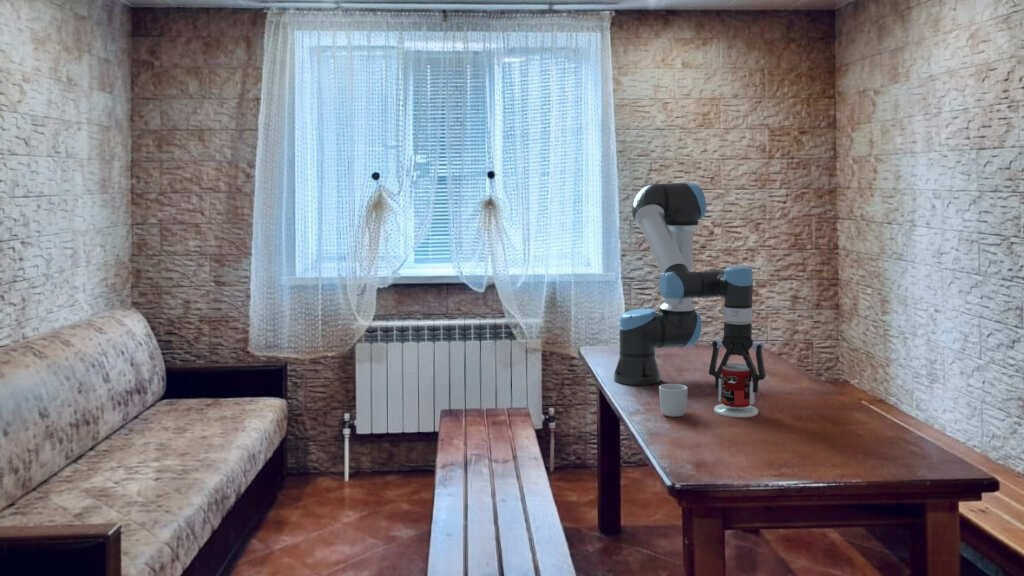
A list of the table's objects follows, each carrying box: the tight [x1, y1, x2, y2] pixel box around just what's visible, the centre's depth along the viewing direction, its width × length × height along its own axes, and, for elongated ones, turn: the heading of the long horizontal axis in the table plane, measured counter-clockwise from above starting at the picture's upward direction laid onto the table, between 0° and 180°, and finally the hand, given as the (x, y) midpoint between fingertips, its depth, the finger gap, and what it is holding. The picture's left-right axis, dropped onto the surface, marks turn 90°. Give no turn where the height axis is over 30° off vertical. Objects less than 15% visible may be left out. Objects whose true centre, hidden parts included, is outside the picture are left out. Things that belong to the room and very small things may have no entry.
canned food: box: [721, 362, 752, 407], centre depth 231 cm, size 8×8×11 cm
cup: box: [658, 383, 689, 418], centre depth 231 cm, size 11×8×8 cm
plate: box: [713, 403, 759, 419], centre depth 232 cm, size 12×12×1 cm
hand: (736, 401), depth 232 cm, fingers closed on canned food, 8 cm apart
